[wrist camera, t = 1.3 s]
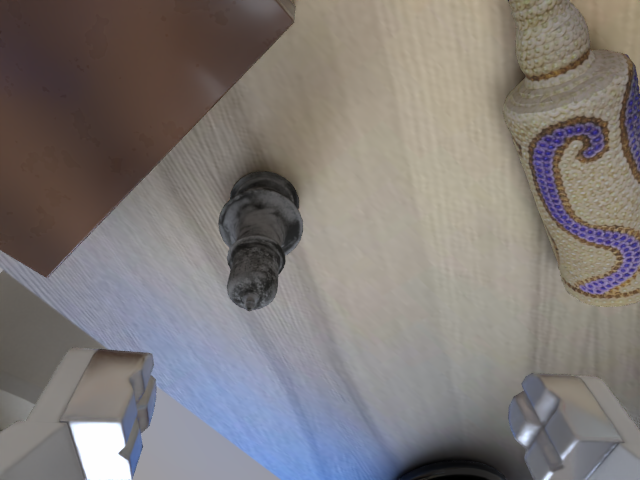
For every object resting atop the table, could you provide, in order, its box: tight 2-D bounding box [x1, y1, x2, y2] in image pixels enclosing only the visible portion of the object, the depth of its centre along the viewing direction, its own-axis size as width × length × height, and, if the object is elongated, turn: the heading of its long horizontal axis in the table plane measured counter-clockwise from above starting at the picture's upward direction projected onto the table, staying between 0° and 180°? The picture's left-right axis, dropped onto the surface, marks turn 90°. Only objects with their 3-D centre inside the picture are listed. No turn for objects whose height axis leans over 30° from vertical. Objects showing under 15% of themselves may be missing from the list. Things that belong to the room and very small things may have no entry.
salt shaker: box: [218, 172, 303, 311], centre depth 28 cm, size 6×6×12 cm
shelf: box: [0, 0, 296, 278], centre depth 24 cm, size 22×14×7 cm, turn 132°
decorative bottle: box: [503, 0, 640, 307], centre depth 28 cm, size 26×8×7 cm, turn 30°
